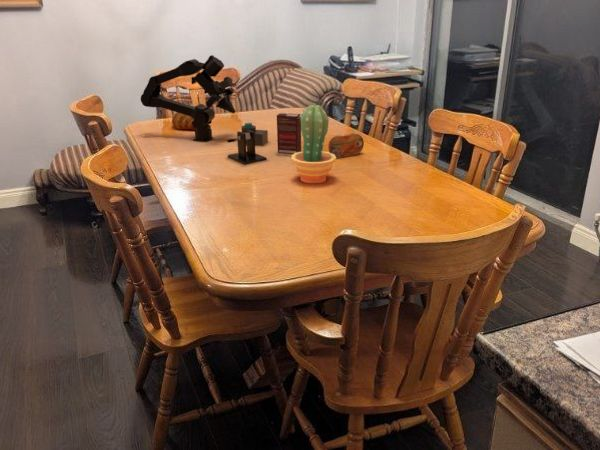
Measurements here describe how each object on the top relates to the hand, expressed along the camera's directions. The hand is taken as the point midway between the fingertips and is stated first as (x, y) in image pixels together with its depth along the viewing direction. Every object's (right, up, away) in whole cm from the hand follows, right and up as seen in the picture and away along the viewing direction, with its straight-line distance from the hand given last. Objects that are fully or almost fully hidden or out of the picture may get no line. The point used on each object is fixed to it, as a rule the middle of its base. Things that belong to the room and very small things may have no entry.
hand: (234, 112), depth 221 cm
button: (+6, -6, +1) cm, 8 cm away
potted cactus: (+32, -32, -40) cm, 60 cm away
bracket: (+7, -22, -19) cm, 30 cm away
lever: (+5, -15, -19) cm, 24 cm away
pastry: (-27, +3, +28) cm, 39 cm away
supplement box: (+23, -19, -12) cm, 33 cm away
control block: (+8, -13, +2) cm, 15 cm away
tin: (+45, -20, -14) cm, 51 cm away
